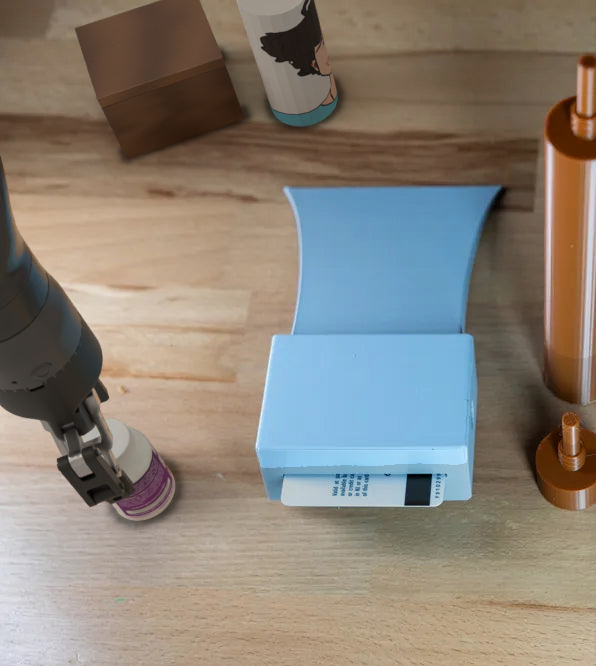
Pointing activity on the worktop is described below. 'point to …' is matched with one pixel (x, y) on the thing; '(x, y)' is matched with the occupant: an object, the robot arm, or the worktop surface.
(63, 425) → the robot arm
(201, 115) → the wooden lidded box
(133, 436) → the pill bottle
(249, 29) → the cup
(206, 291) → the worktop surface
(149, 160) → the worktop surface
